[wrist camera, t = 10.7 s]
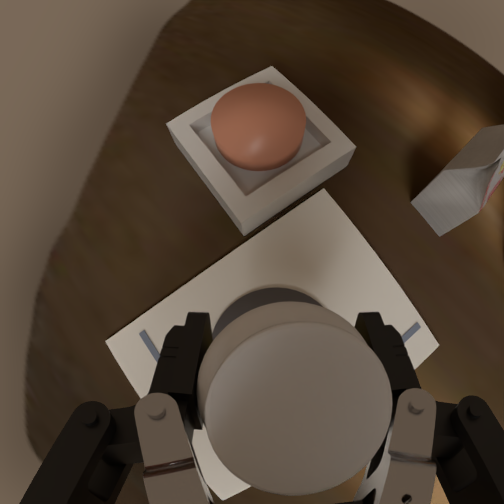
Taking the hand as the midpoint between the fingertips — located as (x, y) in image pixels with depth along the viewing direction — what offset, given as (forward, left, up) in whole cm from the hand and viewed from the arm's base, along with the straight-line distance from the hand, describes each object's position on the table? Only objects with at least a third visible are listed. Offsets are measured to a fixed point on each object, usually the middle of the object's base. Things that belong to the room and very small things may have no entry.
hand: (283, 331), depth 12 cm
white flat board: (+1, +1, -11) cm, 11 cm away
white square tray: (-7, -12, -11) cm, 17 cm away
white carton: (-18, 0, -11) cm, 21 cm away
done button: (-7, -12, -8) cm, 16 cm away
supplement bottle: (+1, +2, -4) cm, 5 cm away
